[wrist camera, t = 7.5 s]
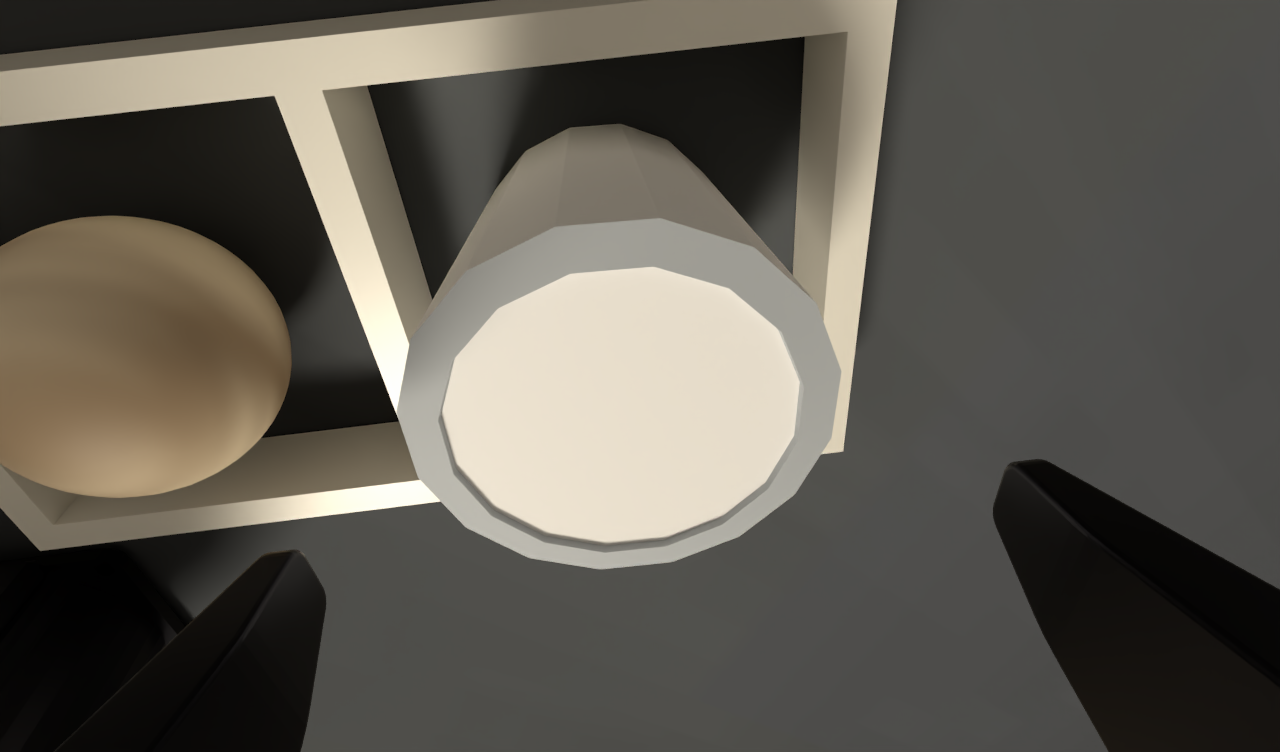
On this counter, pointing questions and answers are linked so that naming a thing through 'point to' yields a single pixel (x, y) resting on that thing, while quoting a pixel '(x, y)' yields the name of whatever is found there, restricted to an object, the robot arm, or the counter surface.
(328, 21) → the holder
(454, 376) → the white and grey cylinder
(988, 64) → the counter surface
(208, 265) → the tan wooden ball
